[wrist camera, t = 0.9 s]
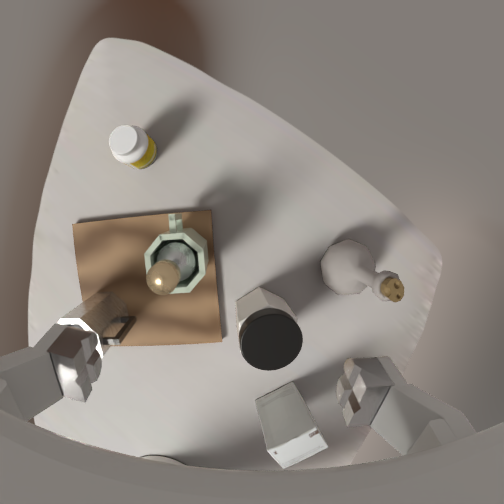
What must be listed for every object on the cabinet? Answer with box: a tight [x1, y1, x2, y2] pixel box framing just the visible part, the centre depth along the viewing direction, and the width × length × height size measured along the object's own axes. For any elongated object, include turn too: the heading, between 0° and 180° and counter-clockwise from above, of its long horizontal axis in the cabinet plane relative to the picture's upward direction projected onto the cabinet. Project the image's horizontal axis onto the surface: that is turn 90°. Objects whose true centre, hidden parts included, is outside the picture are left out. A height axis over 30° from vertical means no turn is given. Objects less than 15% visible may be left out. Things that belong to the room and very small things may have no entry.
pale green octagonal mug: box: [144, 213, 209, 294], centre depth 40 cm, size 10×7×10 cm
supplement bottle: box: [109, 125, 157, 169], centre depth 39 cm, size 5×5×10 cm
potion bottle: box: [320, 239, 404, 302], centre depth 40 cm, size 9×9×18 cm
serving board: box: [72, 210, 222, 346], centre depth 46 cm, size 21×23×1 cm
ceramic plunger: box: [146, 242, 196, 295], centre depth 32 cm, size 5×5×10 cm
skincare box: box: [255, 382, 328, 469], centre depth 45 cm, size 8×6×15 cm
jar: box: [235, 287, 303, 370], centre depth 43 cm, size 9×8×12 cm
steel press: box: [58, 292, 137, 358], centre depth 39 cm, size 7×10×13 cm
